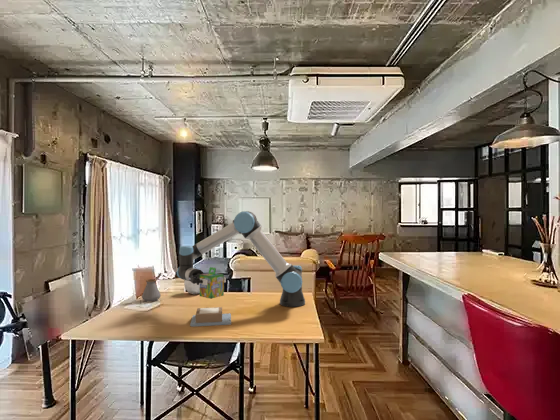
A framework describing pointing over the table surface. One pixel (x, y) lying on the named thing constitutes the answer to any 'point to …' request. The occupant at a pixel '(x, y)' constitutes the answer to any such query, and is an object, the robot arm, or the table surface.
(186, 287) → the geometric shape
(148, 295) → the coffee pot
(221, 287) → the chalk box
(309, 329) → the table surface
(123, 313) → the table surface
